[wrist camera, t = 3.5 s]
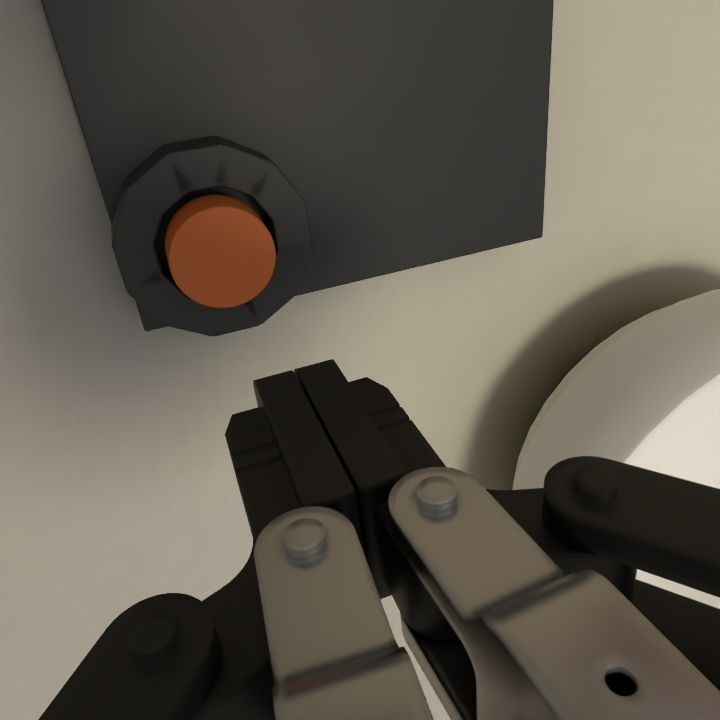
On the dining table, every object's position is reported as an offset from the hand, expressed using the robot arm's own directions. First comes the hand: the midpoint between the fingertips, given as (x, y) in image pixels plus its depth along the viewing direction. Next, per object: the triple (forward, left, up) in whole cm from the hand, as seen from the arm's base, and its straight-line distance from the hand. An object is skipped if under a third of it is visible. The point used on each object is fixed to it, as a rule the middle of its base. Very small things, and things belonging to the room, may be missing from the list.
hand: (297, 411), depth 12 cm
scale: (+5, +4, -13) cm, 15 cm away
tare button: (0, 0, -10) cm, 10 cm away
